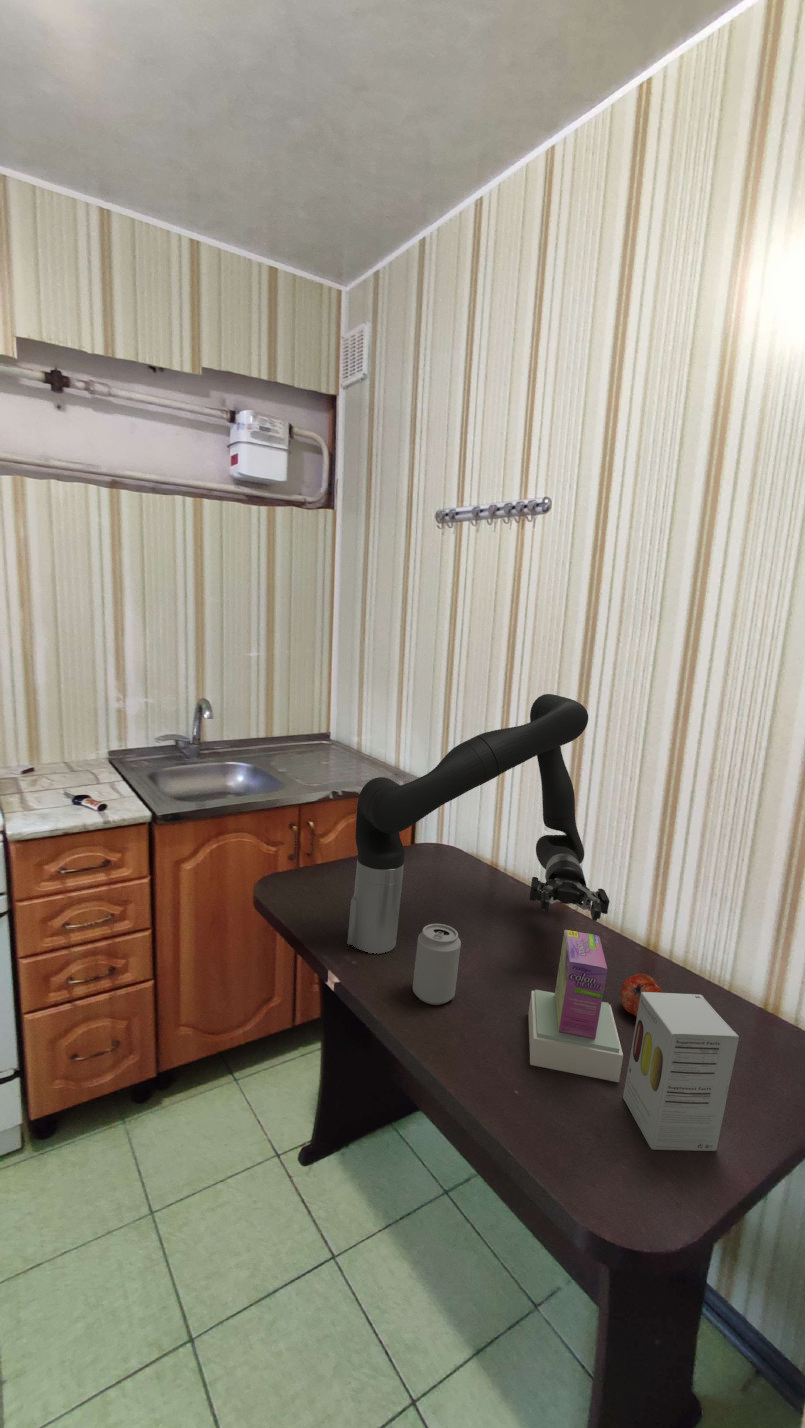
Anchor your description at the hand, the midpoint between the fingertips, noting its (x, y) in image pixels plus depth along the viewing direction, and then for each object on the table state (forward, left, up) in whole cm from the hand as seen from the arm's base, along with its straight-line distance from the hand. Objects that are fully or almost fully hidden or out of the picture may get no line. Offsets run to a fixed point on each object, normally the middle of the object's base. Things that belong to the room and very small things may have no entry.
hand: (571, 911), depth 115 cm
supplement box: (+13, -27, -16) cm, 34 cm away
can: (-22, -7, -16) cm, 28 cm away
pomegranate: (+14, -1, -16) cm, 22 cm away
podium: (+1, -14, -16) cm, 22 cm away
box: (+1, -14, -11) cm, 18 cm away
